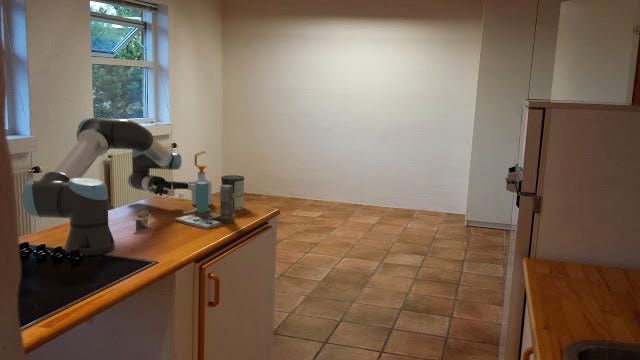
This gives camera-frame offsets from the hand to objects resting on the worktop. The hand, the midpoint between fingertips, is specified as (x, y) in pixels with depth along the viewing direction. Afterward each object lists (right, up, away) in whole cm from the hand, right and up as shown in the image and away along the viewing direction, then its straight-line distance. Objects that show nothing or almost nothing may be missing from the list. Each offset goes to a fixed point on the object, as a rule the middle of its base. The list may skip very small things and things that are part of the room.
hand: (186, 190), depth 242 cm
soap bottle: (+2, -7, +21) cm, 22 cm away
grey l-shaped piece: (+11, -12, -11) cm, 20 cm away
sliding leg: (+5, -9, -7) cm, 13 cm away
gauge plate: (+8, -13, -16) cm, 22 cm away
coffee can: (+18, -8, +15) cm, 24 cm away
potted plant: (-11, -14, -25) cm, 31 cm away
